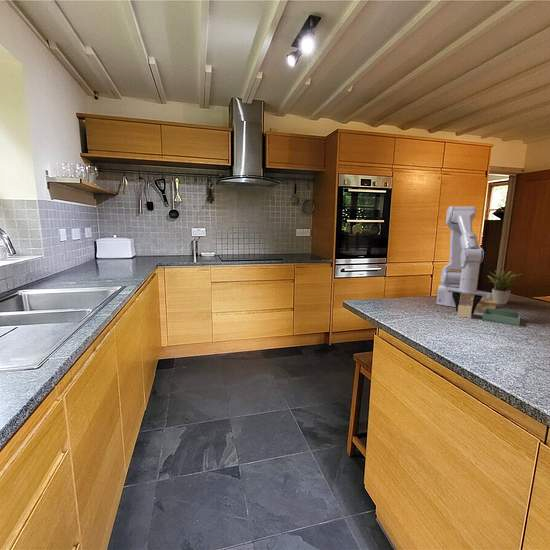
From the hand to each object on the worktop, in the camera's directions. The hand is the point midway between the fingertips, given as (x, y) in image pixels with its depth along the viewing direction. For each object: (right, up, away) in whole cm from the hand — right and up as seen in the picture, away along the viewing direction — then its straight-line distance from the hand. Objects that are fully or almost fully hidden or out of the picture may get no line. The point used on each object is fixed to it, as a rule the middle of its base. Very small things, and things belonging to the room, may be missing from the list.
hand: (464, 312), depth 118 cm
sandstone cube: (0, -1, 0) cm, 1 cm away
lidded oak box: (+12, 0, +7) cm, 14 cm away
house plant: (+32, +2, +22) cm, 39 cm away
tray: (+11, -2, -4) cm, 12 cm away
